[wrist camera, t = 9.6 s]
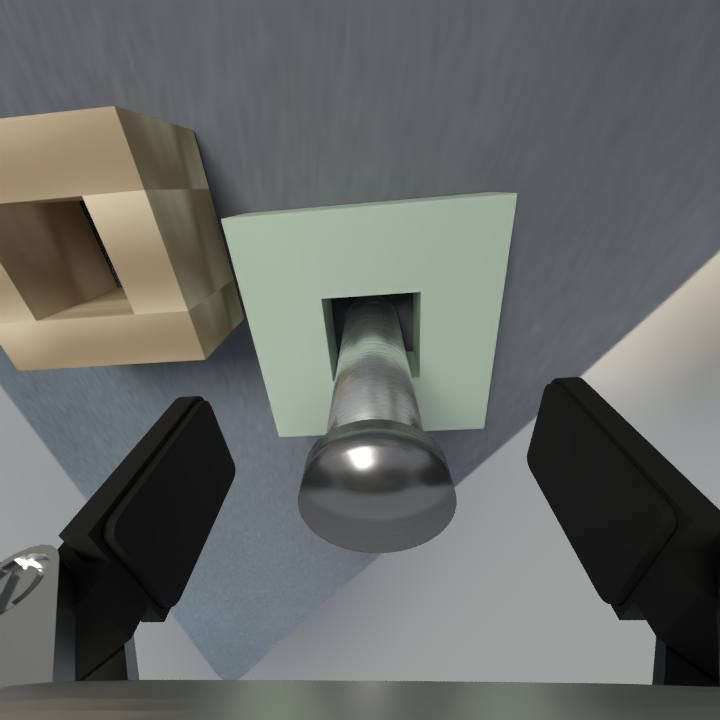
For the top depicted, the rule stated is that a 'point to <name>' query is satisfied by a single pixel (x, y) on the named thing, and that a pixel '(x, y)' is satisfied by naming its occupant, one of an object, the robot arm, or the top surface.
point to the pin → (375, 447)
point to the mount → (108, 243)
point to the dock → (376, 277)
